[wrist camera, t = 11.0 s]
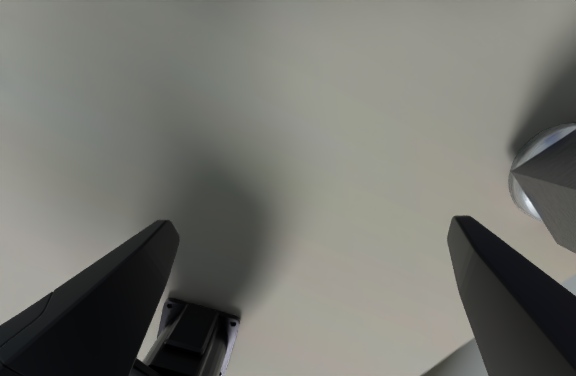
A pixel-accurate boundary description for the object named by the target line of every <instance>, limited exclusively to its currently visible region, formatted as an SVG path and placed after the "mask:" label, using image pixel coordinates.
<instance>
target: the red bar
mask: <svg viewBox="0 0 576 376" xmlns="http://www.w3.org/2000/svg"><path fill="white" fill-rule="evenodd" d="M575 129H576V123H567V124H561V125H557V126H554V127H551V128H548V129H546V130H544V131H542V132H541V133H539V134H537V135H536V136H535V137H533V138H532V139H531V140H530V141H528V142H527V143H526V144H525V145H524V147H523V148H522V149H521V150H520V151H519V153H518V154H517V156H516V158H515V160H514V161H513V164H512V166H511V170H510V174H509V190H510V194H511V197H512V199H513V201H514V203H515V204H516V205H517V207H518V208H519V209H520V210H521V211H523V212H524V213H525V214H527V215H529V216H531V217H533V218H535V219H538V220H540V221H542V219H541V217H540V216H539V214H538V213H537V211H536V210H535V208H534V207H533V205H532V203H531V202H530V200H529V199H528V197H527V196H526V194H525V193H524V191H523V190H522V188H521V187H520V185H519V183H518V182H517V180H516V179H515V177H514V176H513V174H512V173H511V171H512V170H514V169H515V168H517V167H518V166H520V165H522V164H523V163H525V162H526V161H528V160H529V159H531V158H532V157H534V156H535V155H537V154H538V153H540V152H542V151H543V150H545V149H546V148H548V147H549V146H551V145H552V144H554V143H555V142H557V141H558V140H560V139H561V138H563V137H564V136H566V135H567V134H569V133H571V132H572V131H574V130H575ZM542 222H543V221H542Z"/></svg>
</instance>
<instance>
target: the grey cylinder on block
mask: <svg viewBox="0 0 576 376" xmlns="http://www.w3.org/2000/svg"><path fill="white" fill-rule="evenodd" d="M511 173H512V174H513V176H514V177H515V179H516V180H517V182H518V183H519V185H520V187H521V188H522V190H523V191H524V193H525V194H526V196H527V197H528V199H529V200H530V202H531V203H532V205H533V207H534V208H535V210H536V211H537V213H538V214H539V216H540V217H541V219H542V221H543V222H544V224H545V225H546V227H547V228H548V230H549V231H550V233H551V235H552V236H553V238H554V239H555V241H556V242H557V244H559V245H561V246H563V247H565V248H567V249H568V250H570V251H572V252H574V253H576V129H575V130H574V131H572V132H571V133H569V134H567V135H566V136H564V137H563V138H561V139H560V140H558V141H557V142H555V143H554V144H552V145H551V146H549V147H548V148H546V149H545V150H543V151H542V152H540V153H538V154H537V155H535V156H534V157H532V158H531V159H529V160H528V161H526V162H525V163H523V164H522V165H520V166H518V167H517V168H515V169H514V170H512V171H511Z"/></svg>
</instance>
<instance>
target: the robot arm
mask: <svg viewBox="0 0 576 376" xmlns="http://www.w3.org/2000/svg"><path fill="white" fill-rule="evenodd" d="M179 240H180V239H179V235H178V233H177V231H176V229H175V227H174V226H173V224H172V222H171V221H170V220H157V221H155V222H154V223H152V224H151V225H149V226H148V227H146V228H145V229H144V230H142V231H141V232H139V233H138V234H136V235H135V236H133V237H132V238H130V239H129V240H127V241H126V242H124V243H123V244H121V245H120V246H119V247H117V248H116V249H114V250H113V251H111V252H110V253H108V254H107V255H105V256H104V257H102V258H101V259H99V260H98V261H96V262H95V263H94V264H92V265H91V266H89V267H88V268H86V269H85V270H83V271H82V272H80V273H79V274H77V275H76V276H74V277H73V278H71V279H70V280H68V281H67V282H66V283H64V284H63V285H61V286H60V287H58V288H57V289H55V290H54V292H51V293H49V294H48V295H46V296H45V297H43V298H42V299H40V300H39V301H38V302H36V303H34V304H33V305H31V306H30V307H28V308H27V309H25V310H24V311H22V312H21V313H19V314H18V315H16V316H15V317H13V318H11V319H10V320H8V321H7V322H5V323H3V324H2V325H0V376H224V375H225V371H226V368H227V365H228V361H229V358H230V355H231V351H232V348H233V344H234V341H235V338H236V334H237V331H238V328H239V324H240V319H239V318H238V317H237V316H234V315H230V314H227V313H223V312H220V311H216V310H213V309H209V308H206V307H202V306H198V305H195V304H191V303H188V302H184V301H181V300H177V299H174V298H169V299H167V300H166V302H165V303H164V306H163V311H162V316H161V321H160V326H159V331H158V335H157V340H156V341H155V343H154V345H153V346H152V348H151V349H150V351H149V352H148V354H147V356H146V357H145V359H144V360H143V362H141V361H140V360H138V359H137V355H138V352H139V350H140V347H141V345H142V342H143V340H144V338H145V335H146V333H147V330H148V328H149V325H150V323H151V321H152V318H153V316H154V313H155V311H156V308H157V306H158V304H159V301H160V299H161V296H162V294H163V292H164V289H165V287H166V284H167V281H168V278H169V275H170V272H171V269H172V265H173V262H174V259H175V255H176V252H177V248H178V245H179ZM447 241H448V247H449V251H450V256H451V260H452V265H453V269H454V273H455V278H456V282H457V286H458V290H459V294H460V297H461V300H462V303H463V306H464V309H465V311H466V314H467V317H468V320H469V322H470V325H471V328H472V331H473V334H474V336H475V339H476V342H477V345H478V348H479V350H480V353H481V356H482V359H483V362H484V364H485V367H486V370H487V372H488V375H489V376H576V296H575V295H573V294H572V293H571V292H569V291H568V290H567V289H566V288H564V287H563V286H562V285H560V284H559V283H558V282H556V281H555V280H554V279H552V278H551V277H550V276H548V275H547V274H546V273H545V272H543V271H542V270H541V269H539V268H538V267H537V266H535V265H534V264H533V263H531V262H530V261H529V260H527V259H526V258H525V257H524V256H522V255H521V254H520V253H518V252H517V251H516V250H514V249H513V248H512V247H510V246H509V245H508V244H506V243H505V242H504V241H503V240H501V239H500V238H499V237H497V236H496V235H495V234H493V233H492V232H491V231H489V230H488V229H487V228H485V227H484V226H483V225H482V224H480V223H479V222H478V221H476V220H475V219H474V218H472V217H471V216H454V217H453V218H452V220H451V224H450V228H449V232H448V236H447ZM170 304H172V306H171V305H170ZM232 322H236V323H232Z"/></svg>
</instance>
